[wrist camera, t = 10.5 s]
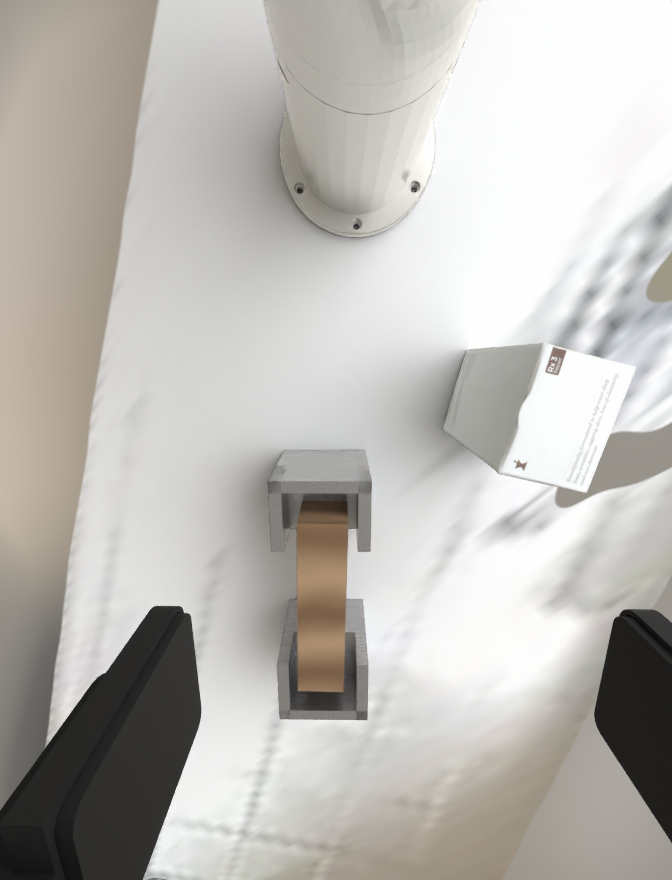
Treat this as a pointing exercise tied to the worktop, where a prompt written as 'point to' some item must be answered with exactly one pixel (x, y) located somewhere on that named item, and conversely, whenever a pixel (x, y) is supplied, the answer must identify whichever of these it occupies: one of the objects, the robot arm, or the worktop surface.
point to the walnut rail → (321, 594)
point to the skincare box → (537, 411)
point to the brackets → (351, 483)
